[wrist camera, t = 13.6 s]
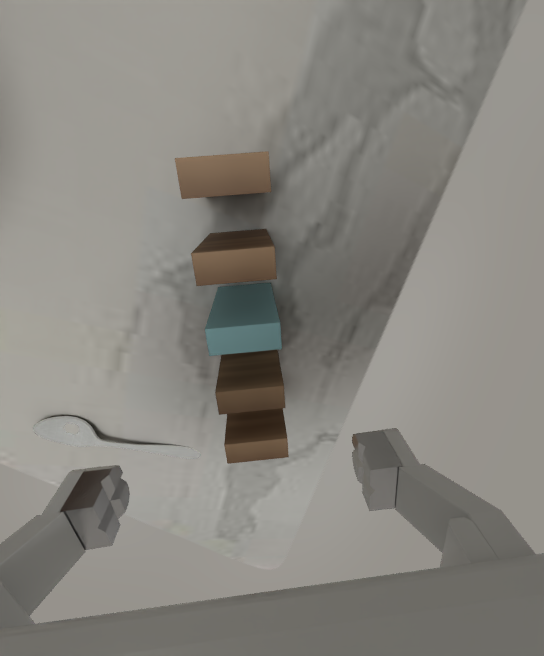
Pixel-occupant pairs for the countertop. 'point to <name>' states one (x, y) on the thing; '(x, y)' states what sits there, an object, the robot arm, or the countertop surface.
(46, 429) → the spoon
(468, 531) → the robot arm
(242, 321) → the domino
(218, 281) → the domino
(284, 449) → the domino
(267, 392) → the domino
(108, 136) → the countertop surface
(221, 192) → the domino
